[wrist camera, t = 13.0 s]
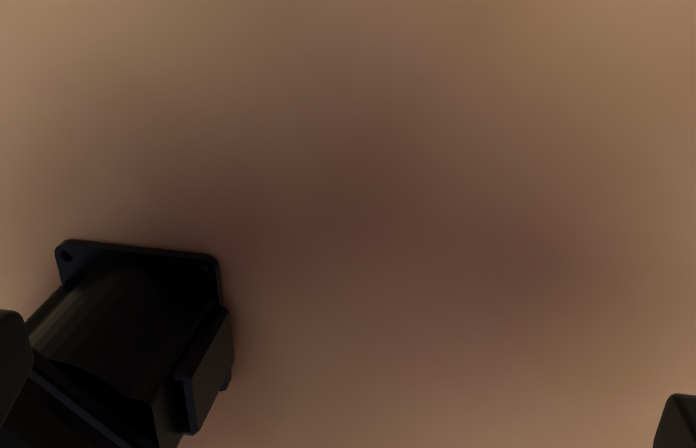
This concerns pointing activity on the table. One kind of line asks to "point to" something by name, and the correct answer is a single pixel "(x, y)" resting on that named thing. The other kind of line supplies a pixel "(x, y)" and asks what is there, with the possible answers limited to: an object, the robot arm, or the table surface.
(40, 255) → the table surface
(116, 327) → the robot arm
